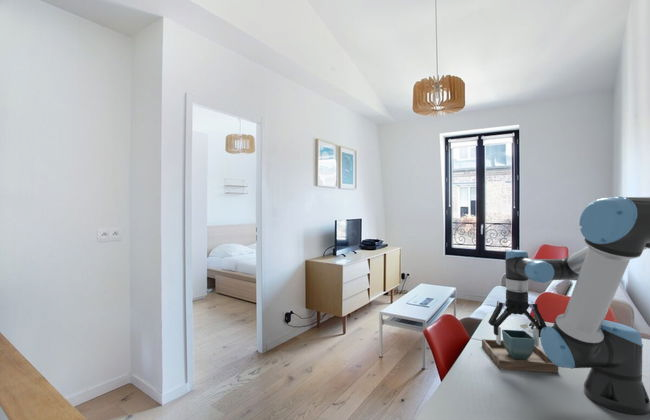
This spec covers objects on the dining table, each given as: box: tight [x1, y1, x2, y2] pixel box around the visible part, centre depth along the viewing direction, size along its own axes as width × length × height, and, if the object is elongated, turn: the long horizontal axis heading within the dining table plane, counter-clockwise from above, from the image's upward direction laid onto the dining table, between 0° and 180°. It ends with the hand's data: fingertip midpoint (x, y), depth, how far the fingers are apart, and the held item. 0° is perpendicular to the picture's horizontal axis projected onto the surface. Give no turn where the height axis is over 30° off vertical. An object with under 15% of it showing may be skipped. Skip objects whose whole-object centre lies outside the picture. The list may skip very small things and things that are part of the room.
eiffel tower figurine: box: [519, 313, 540, 333], centre depth 160 cm, size 15×10×13 cm
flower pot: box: [501, 329, 535, 360], centre depth 127 cm, size 9×9×9 cm
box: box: [481, 338, 559, 374], centre depth 127 cm, size 20×20×3 cm
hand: (517, 344), depth 127 cm, fingers open, 13 cm apart
